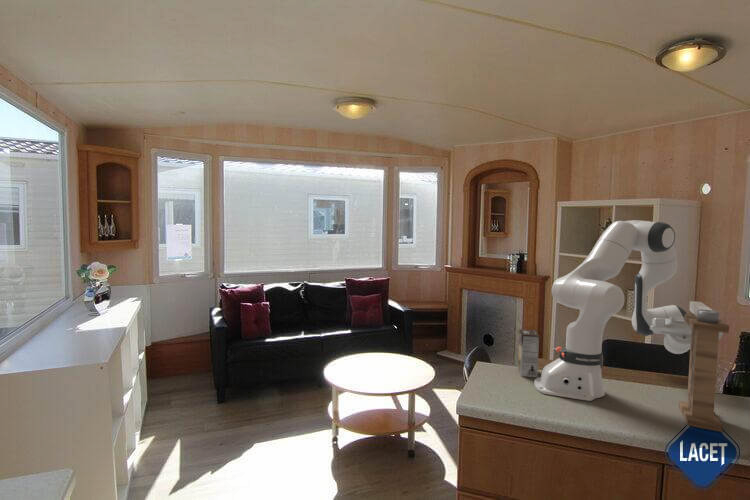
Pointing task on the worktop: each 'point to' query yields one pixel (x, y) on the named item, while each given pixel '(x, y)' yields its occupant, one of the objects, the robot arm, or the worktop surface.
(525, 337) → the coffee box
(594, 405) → the worktop surface
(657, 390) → the worktop surface
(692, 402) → the stand
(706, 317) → the jaw bar
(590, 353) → the robot arm
